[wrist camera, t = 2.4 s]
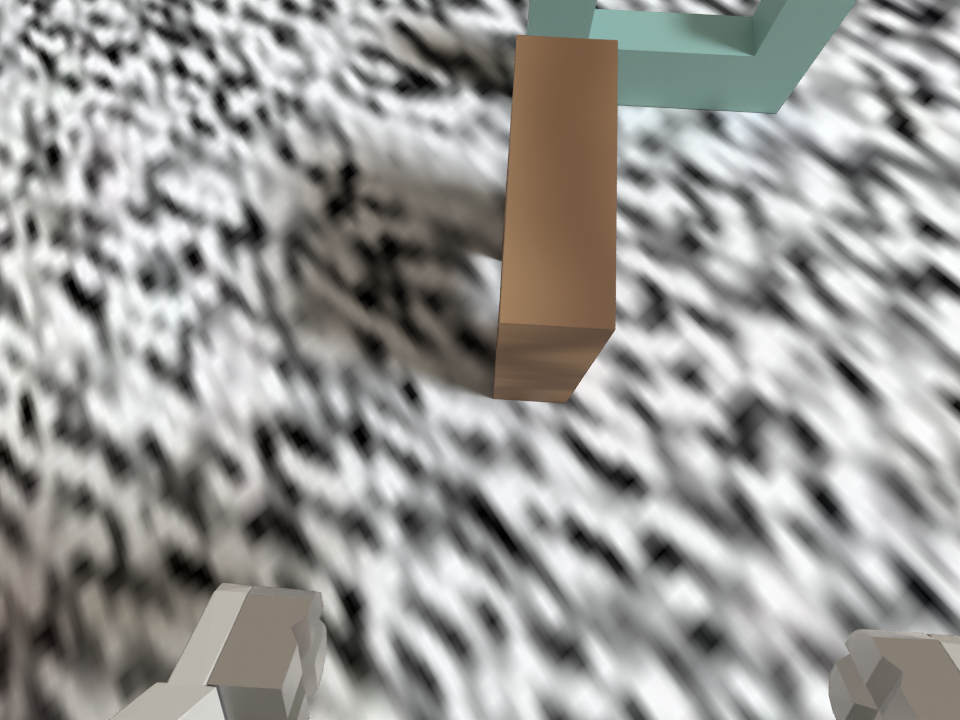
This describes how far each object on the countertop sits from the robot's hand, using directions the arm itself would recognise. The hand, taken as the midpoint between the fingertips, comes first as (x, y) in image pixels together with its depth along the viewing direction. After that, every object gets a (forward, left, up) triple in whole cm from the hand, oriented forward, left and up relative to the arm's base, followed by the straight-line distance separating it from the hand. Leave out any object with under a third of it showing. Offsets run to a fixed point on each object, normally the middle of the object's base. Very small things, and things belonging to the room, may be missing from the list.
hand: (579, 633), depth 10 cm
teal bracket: (+5, +22, -15) cm, 27 cm away
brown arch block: (0, +11, -15) cm, 19 cm away
